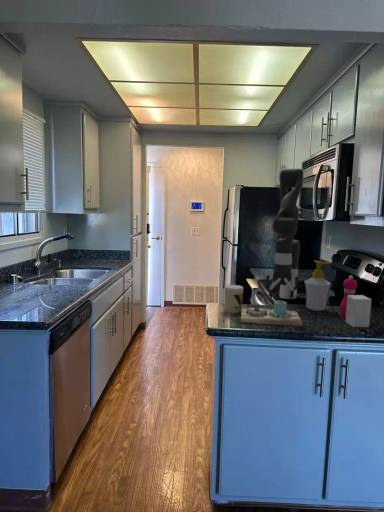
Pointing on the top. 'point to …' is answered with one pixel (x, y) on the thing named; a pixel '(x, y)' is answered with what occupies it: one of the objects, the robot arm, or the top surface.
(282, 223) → the robot arm
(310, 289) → the soap bottle
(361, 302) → the supplement box
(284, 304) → the planet gear
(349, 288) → the pepper mill
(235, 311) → the coffee cup
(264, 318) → the carrier
